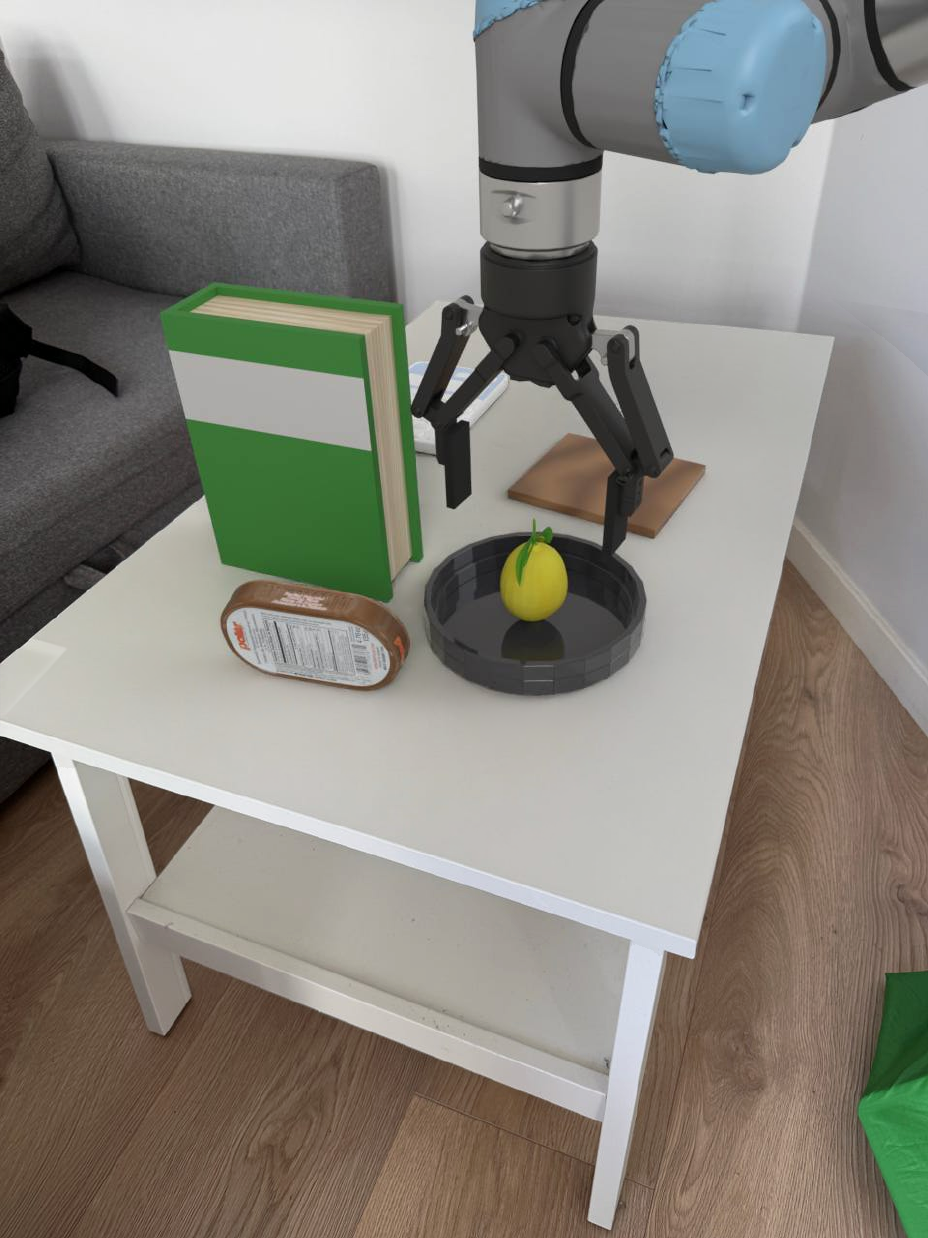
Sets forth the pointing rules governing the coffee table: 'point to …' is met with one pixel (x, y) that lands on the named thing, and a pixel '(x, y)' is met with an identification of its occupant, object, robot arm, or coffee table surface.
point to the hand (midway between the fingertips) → (533, 523)
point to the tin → (315, 634)
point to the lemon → (534, 578)
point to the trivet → (601, 485)
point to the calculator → (421, 426)
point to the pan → (534, 650)
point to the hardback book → (301, 432)
